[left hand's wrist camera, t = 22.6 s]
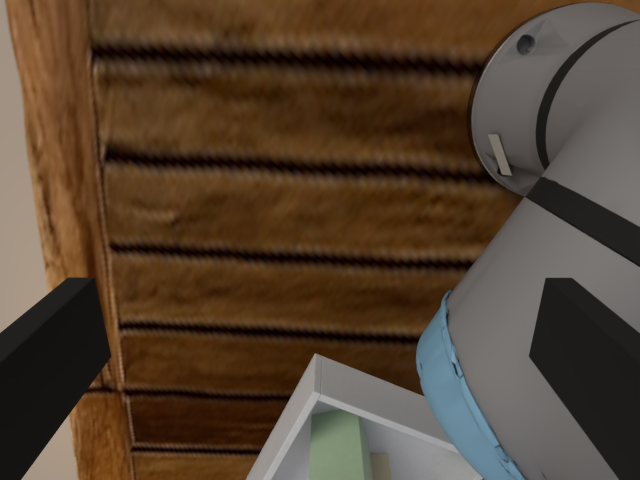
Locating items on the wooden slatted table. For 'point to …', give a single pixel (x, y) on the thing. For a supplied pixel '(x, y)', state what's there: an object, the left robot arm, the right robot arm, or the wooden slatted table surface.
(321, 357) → the tray
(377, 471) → the block
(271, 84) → the wooden slatted table surface
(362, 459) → the block
